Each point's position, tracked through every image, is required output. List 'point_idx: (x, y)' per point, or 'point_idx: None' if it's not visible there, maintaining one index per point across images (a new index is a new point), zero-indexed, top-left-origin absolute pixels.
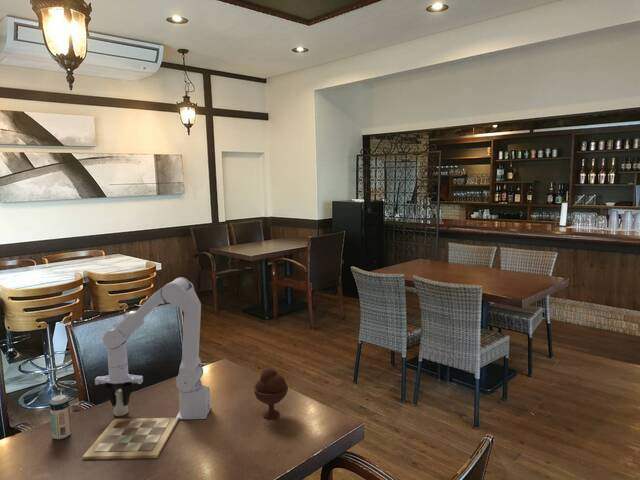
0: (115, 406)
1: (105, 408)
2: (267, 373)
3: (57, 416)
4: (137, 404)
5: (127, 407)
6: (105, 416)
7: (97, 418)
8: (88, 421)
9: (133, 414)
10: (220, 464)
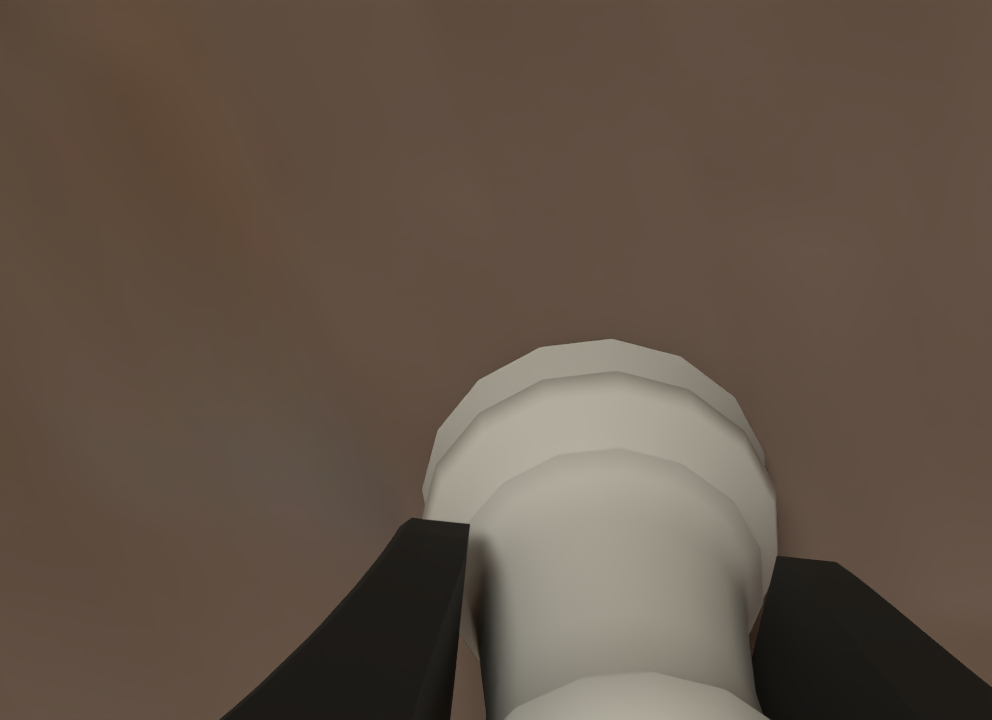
0: (467, 621)
1: (85, 164)
2: None
3: None
4: (930, 37)
5: (775, 538)
6: (276, 562)
7: (140, 617)
8: (16, 700)
9: (893, 566)
10: None
